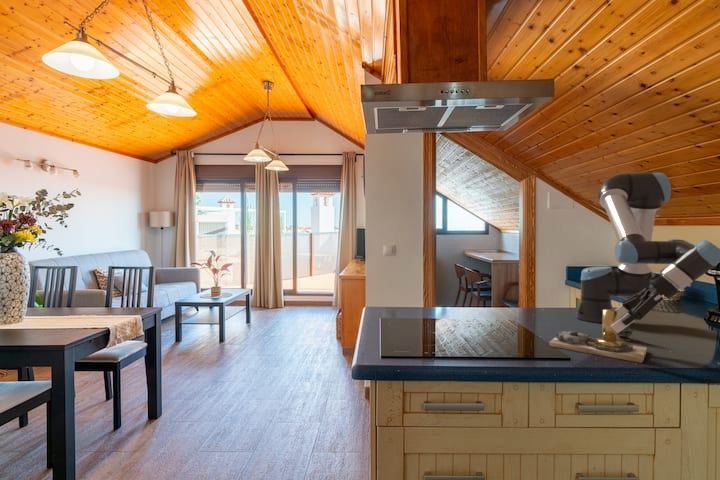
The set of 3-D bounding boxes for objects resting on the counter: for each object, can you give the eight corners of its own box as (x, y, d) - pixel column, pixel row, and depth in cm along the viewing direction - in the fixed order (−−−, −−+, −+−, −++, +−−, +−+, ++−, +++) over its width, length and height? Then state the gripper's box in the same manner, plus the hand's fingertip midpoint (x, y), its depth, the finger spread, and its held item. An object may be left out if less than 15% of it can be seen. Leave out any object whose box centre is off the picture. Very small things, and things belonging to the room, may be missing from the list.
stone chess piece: (636, 341, 140) (636, 308, 139) (618, 340, 141) (618, 307, 141) (628, 337, 146) (629, 305, 145) (611, 336, 147) (611, 304, 146)
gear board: (560, 337, 145) (560, 325, 145) (646, 351, 128) (646, 338, 128) (549, 346, 135) (549, 333, 135) (641, 362, 118) (642, 348, 118)
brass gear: (596, 341, 135) (597, 306, 135) (626, 345, 130) (627, 309, 129) (591, 346, 129) (592, 310, 128) (622, 352, 123) (623, 314, 123)
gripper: (692, 297, 109) (627, 344, 116) (669, 285, 131) (615, 325, 138) (668, 277, 111) (606, 324, 118) (650, 269, 133) (598, 308, 141)
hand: (611, 324), depth 128 cm, fingers open, 13 cm apart
